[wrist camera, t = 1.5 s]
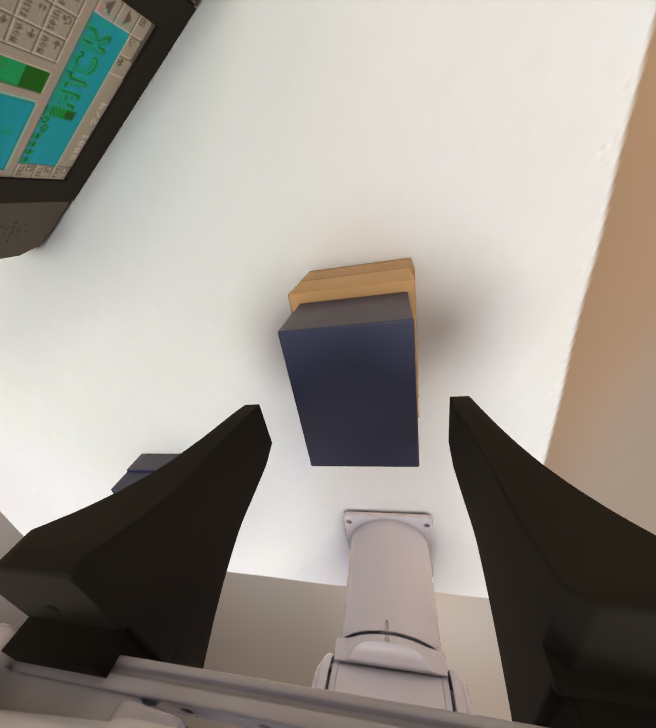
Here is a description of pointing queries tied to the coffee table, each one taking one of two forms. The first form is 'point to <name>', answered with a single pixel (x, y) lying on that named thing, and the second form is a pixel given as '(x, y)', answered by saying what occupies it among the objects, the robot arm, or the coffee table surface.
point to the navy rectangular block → (355, 379)
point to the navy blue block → (143, 468)
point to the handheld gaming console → (69, 97)
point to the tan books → (359, 285)
